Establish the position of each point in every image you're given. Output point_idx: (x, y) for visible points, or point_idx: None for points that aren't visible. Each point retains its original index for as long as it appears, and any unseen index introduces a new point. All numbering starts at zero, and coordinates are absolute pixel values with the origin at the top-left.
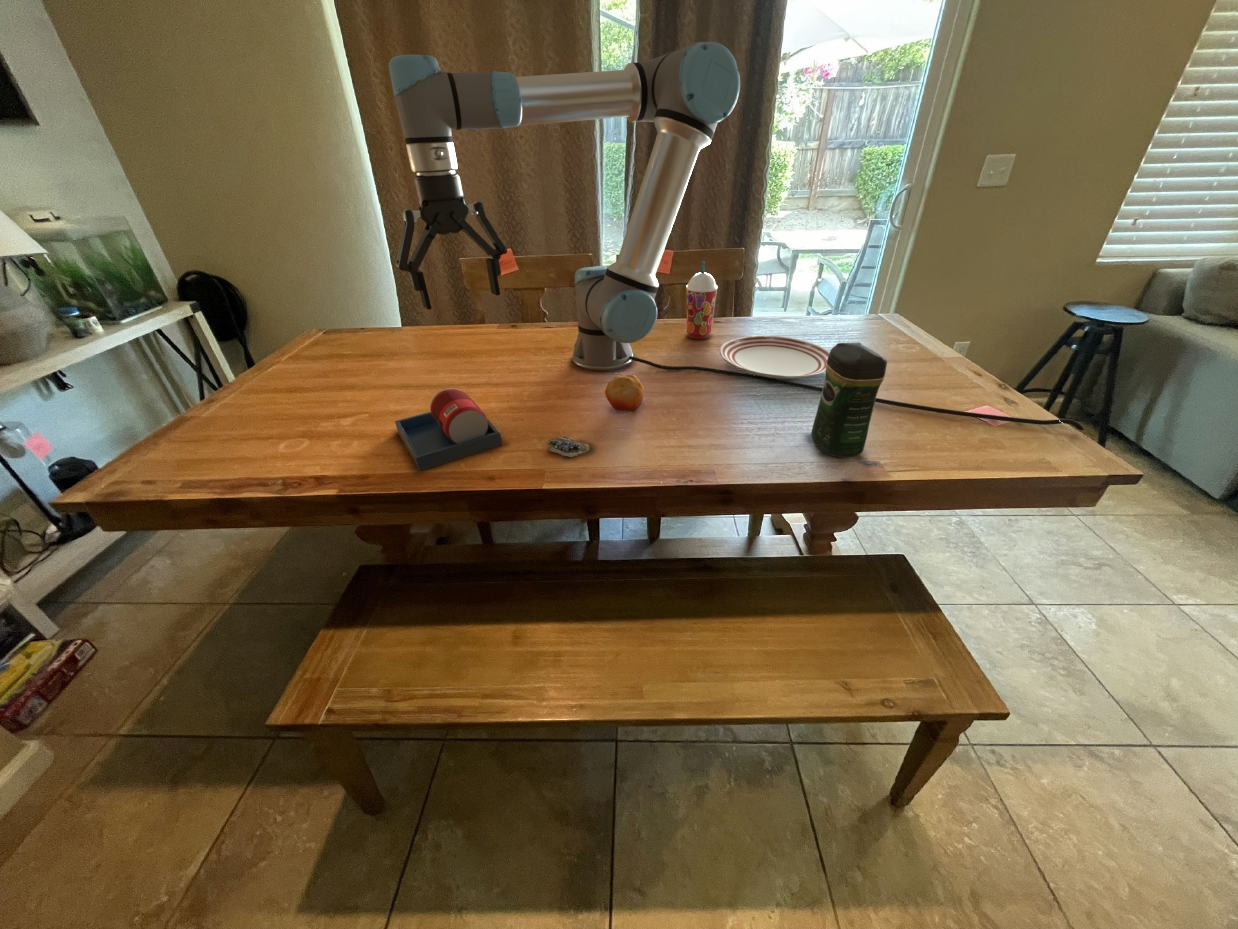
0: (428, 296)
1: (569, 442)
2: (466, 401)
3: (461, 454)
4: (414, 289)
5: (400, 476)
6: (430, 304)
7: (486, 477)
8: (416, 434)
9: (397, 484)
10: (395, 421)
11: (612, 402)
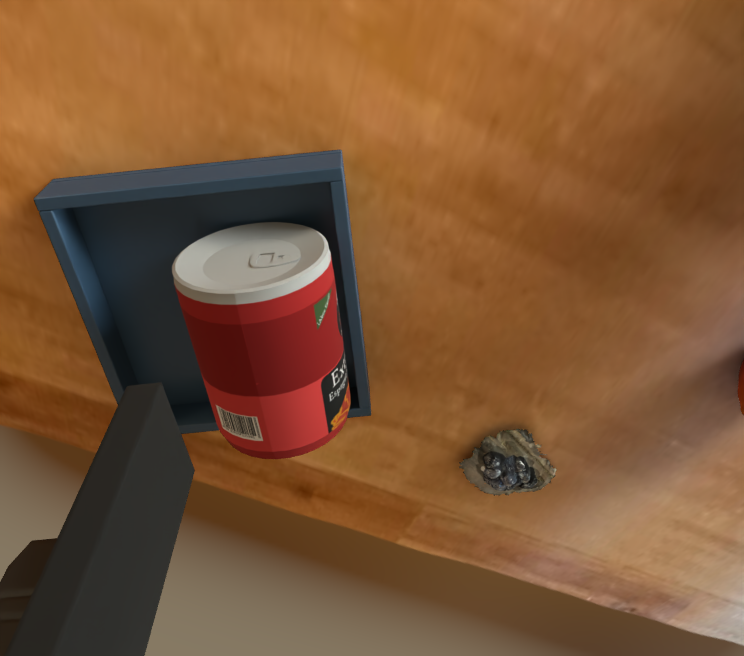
0: (171, 552)
1: (518, 474)
2: (298, 408)
3: None
4: (31, 545)
5: (93, 412)
6: (186, 498)
7: (295, 485)
8: (122, 241)
9: (89, 437)
10: (36, 203)
11: (739, 400)
